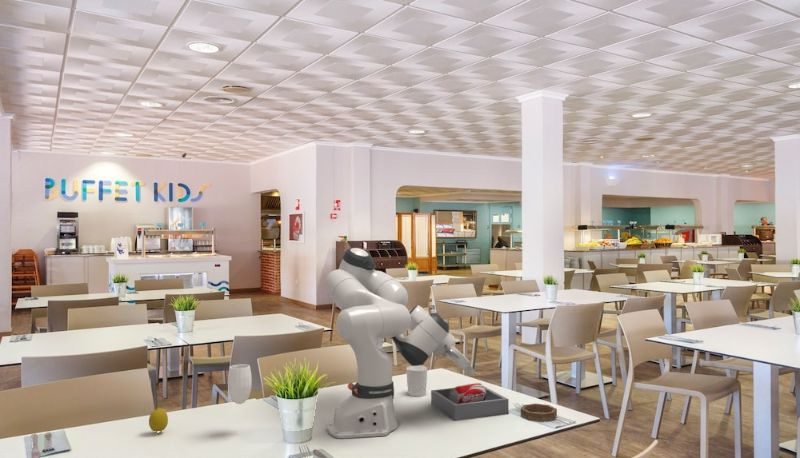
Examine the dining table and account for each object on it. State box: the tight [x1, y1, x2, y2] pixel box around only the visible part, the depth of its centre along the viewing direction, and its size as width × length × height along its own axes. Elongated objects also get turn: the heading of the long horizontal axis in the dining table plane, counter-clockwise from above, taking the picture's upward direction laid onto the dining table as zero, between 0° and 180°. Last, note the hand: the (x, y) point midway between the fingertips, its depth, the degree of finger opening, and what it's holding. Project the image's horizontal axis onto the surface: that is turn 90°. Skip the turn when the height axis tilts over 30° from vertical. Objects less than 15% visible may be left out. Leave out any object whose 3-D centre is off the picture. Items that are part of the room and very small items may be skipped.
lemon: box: [148, 407, 169, 432], centre depth 188 cm, size 6×6×8 cm
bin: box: [430, 385, 510, 421], centre depth 210 cm, size 20×20×5 cm
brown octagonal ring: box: [520, 403, 558, 423], centre depth 201 cm, size 11×11×2 cm
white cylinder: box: [406, 365, 428, 397], centre depth 229 cm, size 8×8×10 cm
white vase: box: [227, 363, 253, 405], centre depth 188 cm, size 7×7×21 cm
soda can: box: [449, 382, 486, 404], centre depth 212 cm, size 7×7×12 cm
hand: (469, 370), depth 210 cm, fingers open, 8 cm apart
